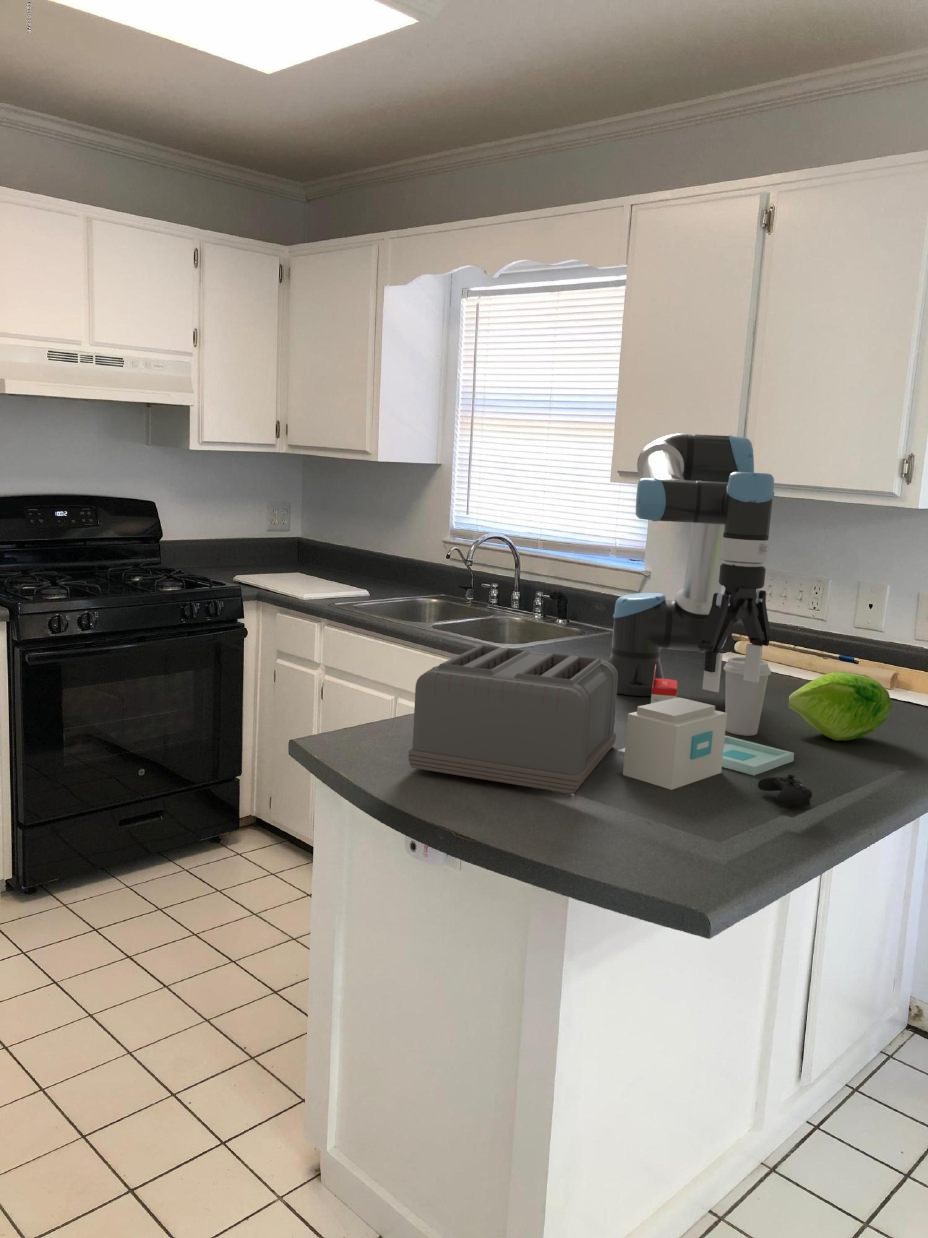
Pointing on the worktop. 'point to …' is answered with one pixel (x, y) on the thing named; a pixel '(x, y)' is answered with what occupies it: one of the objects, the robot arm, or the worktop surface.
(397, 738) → the worktop surface
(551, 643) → the worktop surface
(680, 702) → the white lidded box
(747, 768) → the tray
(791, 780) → the gaming controller
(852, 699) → the lettuce
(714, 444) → the robot arm
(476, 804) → the worktop surface
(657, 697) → the ink box
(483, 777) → the toaster
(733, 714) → the coffee cup
